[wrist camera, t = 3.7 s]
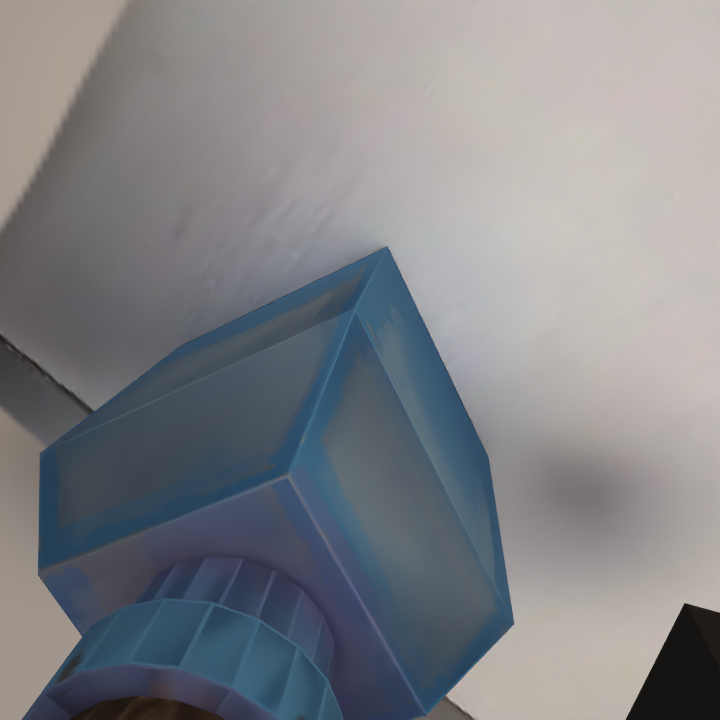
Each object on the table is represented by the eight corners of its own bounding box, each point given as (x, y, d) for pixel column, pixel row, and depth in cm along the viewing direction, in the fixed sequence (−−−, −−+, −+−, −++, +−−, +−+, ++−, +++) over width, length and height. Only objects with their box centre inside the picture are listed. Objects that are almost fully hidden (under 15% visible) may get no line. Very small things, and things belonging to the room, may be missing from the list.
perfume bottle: (288, 532, 18) (41, 1159, 7) (179, 346, 17) (-361, 759, 5) (488, 457, 17) (588, 1103, 5) (387, 246, 15) (236, 529, 4)
